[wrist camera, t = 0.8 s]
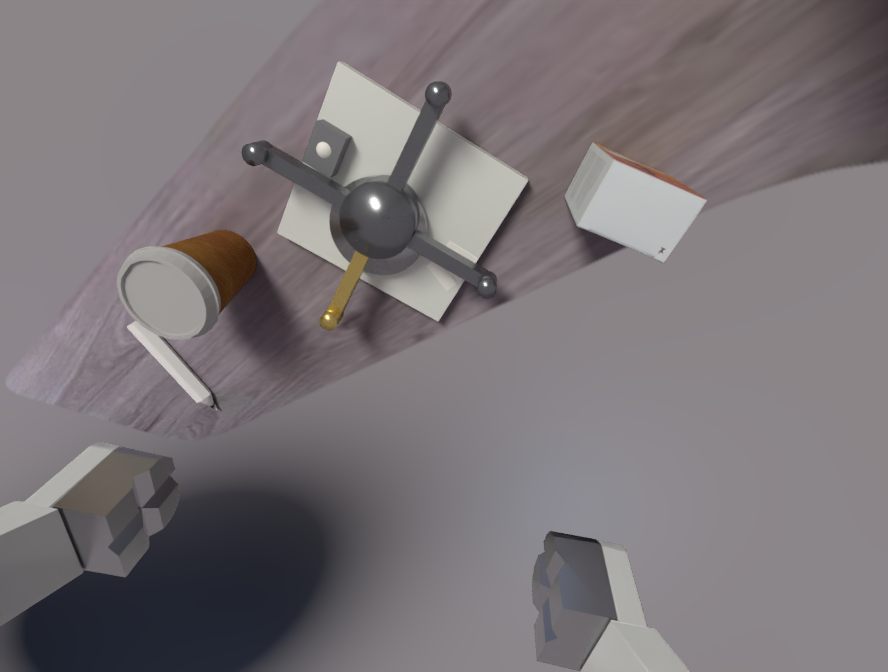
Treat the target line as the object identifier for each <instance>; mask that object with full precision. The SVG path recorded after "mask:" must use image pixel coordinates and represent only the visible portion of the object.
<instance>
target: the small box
mask: <svg viewBox="0 0 888 672" xmlns="http://www.w3.org/2000/svg"><path fill="white" fill-rule="evenodd" d="M565 199H566V201H567V204H568V206H569V209H570V211H571V213H572V216H573V218H574V220H575V223H576V225H577V227H579V228H582V229H585V230H588V231H590V232H593V233H595V234H598V235H600V236H603V237H605V238H607V239H610V240H612V241H614V242H617V243H619V244H622V245H624V246H626V247H629V248H631V249H633V250H636V251H638V252H640V253H642V254H645V255H647V256H649V257H651V258H653V259H655V260H657V261H659V262H661V263H665V261H666V259H667V258H668V257H669V255H670V254H671V252H672V251H673V250H674V248H675V246H676V245H677V244H678V242H679V241H680V239H681V238H682V237H683V235H684V234H685V232H686V231H687V229H688V228H689V226H690V225H691V223H692V222H693V221H694V219H695V218H696V216H697V215H698V213H699V212H700V210H701V209H702V207H703V206H704V204H705V203H706V202H707V199H706V198H704V197H703V196H701V195H699V194H698V193H696V192H695V191H693V190H692V189H690V188H688V187H687V186H685V185H684V184H682V183H681V182H679V181H677V180H676V179H674V178H673V177H671V176H669V175H668V174H666V173H663V172H661V171H658V170H656V169H653V168H651V167H648V166H646V165H643V164H641V163H639V162H637V161H635V160H632V159H630V158H628V157H626V156H623V155H621V154H619V153H617V152H615V151H612V150H610V149H608V148H606V147H603V146H601V145H599V144H597V143H592V144H591V146H590V148H589V150H588V152H587V154H586V156H585V157H584V159H583V161H582V163H581V165H580V167H579V169H578V171H577V173H576V175H575V177H574V179H573V181H572V183H571V184H570V186H569V188H568V190H567V192H566V194H565Z"/></svg>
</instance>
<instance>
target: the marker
mask: <svg viewBox="0 0 888 672" xmlns="http://www.w3.org/2000/svg"><path fill="white" fill-rule="evenodd" d="M127 328H128V329H129V330H130V331H131V332H132V333H133V335H134V336H135V337H136V338H137V339H138V340H139V341H140V342H141V343H142V344H143V345H144V346H145V347H146V349H147V350H148V351H149V352H150V353H151V354H152V355H153V356H154V357H155V358H156V359H157V360H158V361H159V363H160V364H161V365H162V366H163V367H164V368H165V369H166V370H167V371H168V372H169V373H170V374H171V375H172V377H173V378H174V379H175V380H176V381H177V382H178V383H179V384H180V385H181V386H182V387H183V388H184V389H185V391H186V392H187V393H188V394H189V395H190V396H191V397H192V398H193V399H194V400H195V401H196V402H197V403H198V402H201V403H203V404H205V405H208V406H210V407H212V408H213V409H215V410H217V407H216V405H215V403H214V401H213V398H212V394H211V391H210V390H209V389H208V388H207V386H206V385H205V384H204V383H203V382H202V381H201V380H200V379H199V378H198V376H197V375H196V374H195V373H194V372H193V371H192V370H191V369H190V367H189V366H188V365H187V364H186V363H185V362H184V361H183V360H182V359H181V357H180V356H179V355H178V354H177V353H176V352H175V351H174V350H173V349H172V347H171V346H170V345H169V344H168V343H167V342H166V341H165V340H164V339H163V337H161V336H159V335H156V334H154V333H152V332H150V331H149V330H147V329H146V328H144V327H143V326H141V325H140V324H139V323H138V322H137V321H135V322H133V323H131V324H130V325H128V326H127ZM217 411H218V410H217Z"/></svg>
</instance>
